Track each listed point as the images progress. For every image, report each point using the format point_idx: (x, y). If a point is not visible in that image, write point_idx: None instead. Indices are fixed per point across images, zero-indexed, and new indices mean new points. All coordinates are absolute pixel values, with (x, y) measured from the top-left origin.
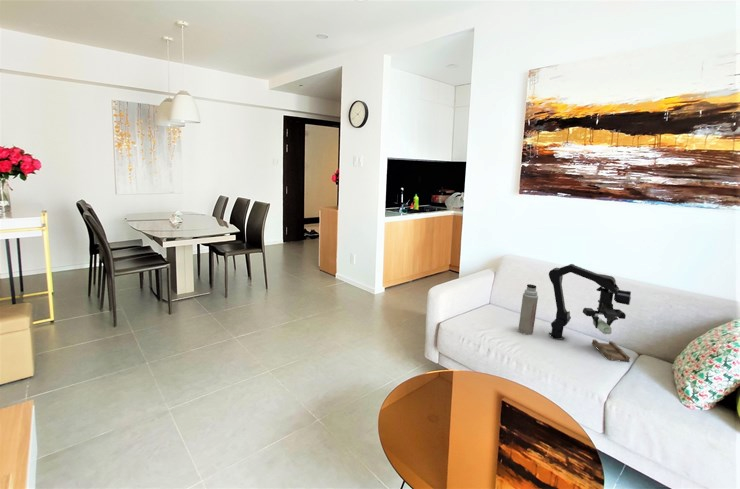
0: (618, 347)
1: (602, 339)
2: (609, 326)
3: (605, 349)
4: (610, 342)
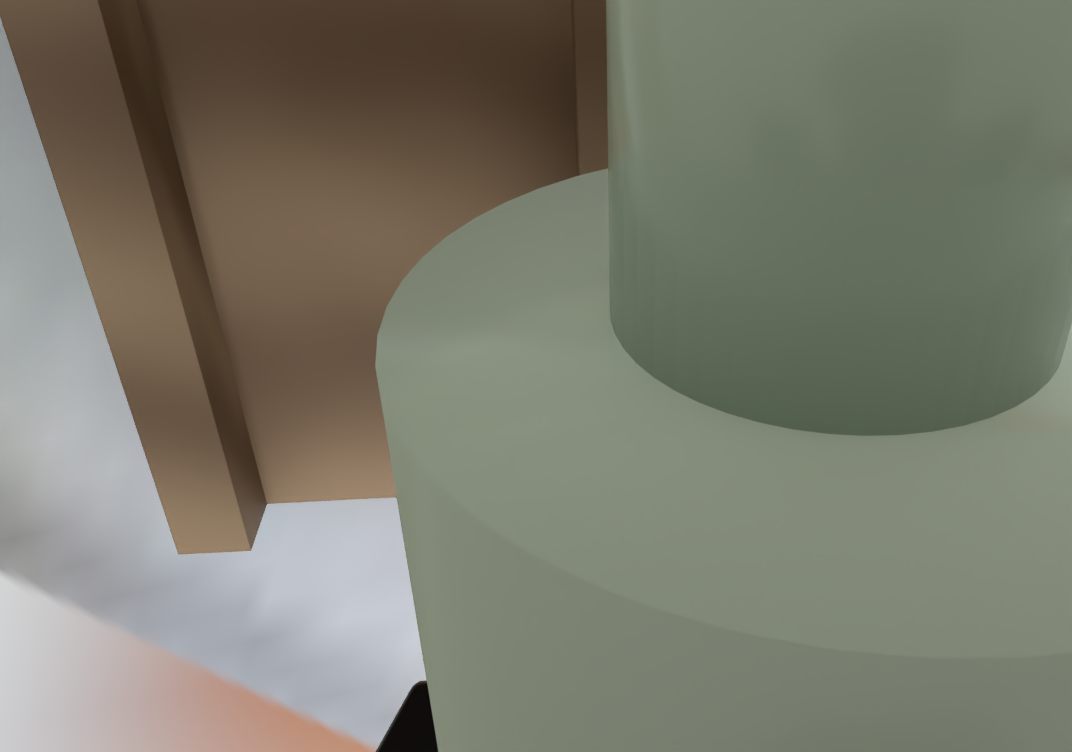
0: (85, 216)
1: (331, 688)
2: (631, 554)
3: (475, 119)
4: (239, 491)
